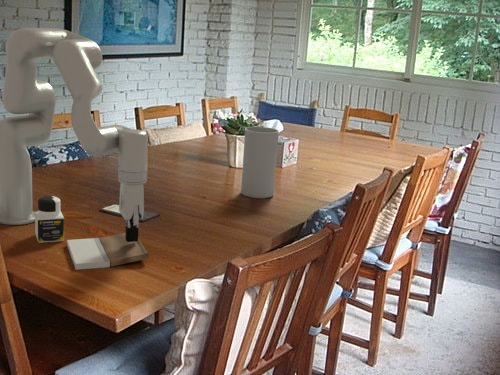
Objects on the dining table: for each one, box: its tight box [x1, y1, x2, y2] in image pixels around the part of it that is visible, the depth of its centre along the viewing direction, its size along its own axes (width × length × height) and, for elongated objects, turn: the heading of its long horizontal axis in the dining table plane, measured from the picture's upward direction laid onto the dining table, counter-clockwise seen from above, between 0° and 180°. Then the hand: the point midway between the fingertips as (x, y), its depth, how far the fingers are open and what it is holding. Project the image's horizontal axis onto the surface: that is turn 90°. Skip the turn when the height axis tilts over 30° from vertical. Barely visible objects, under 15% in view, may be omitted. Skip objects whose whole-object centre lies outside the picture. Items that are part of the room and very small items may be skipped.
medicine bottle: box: [34, 195, 65, 244], centre depth 182 cm, size 7×7×12 cm
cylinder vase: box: [240, 126, 280, 200], centre depth 241 cm, size 12×12×25 cm
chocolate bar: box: [98, 203, 161, 223], centre depth 211 cm, size 9×1×18 cm
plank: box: [98, 232, 150, 267], centre depth 176 cm, size 10×18×2 cm, turn 22°
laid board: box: [66, 237, 111, 271], centre depth 173 cm, size 9×18×2 cm, turn 22°
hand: (131, 240), depth 176 cm, fingers closed
